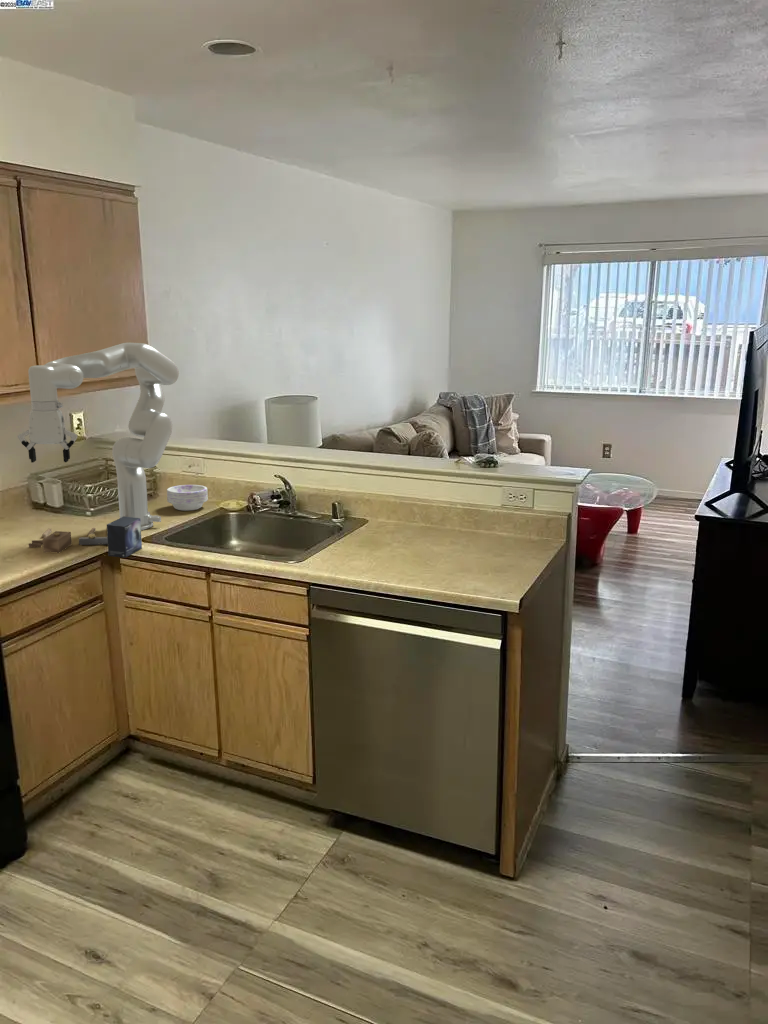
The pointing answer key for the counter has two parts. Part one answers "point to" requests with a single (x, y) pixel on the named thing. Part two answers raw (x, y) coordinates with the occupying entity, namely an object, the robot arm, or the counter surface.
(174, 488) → the paper bowls
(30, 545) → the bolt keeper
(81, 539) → the bar
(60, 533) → the cap block
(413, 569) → the counter surface
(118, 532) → the small box
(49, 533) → the bolt guide rails
